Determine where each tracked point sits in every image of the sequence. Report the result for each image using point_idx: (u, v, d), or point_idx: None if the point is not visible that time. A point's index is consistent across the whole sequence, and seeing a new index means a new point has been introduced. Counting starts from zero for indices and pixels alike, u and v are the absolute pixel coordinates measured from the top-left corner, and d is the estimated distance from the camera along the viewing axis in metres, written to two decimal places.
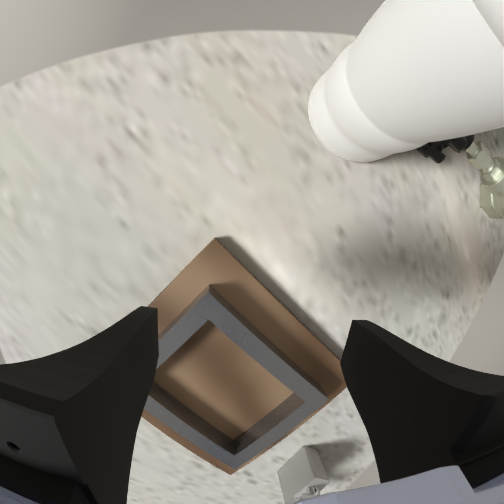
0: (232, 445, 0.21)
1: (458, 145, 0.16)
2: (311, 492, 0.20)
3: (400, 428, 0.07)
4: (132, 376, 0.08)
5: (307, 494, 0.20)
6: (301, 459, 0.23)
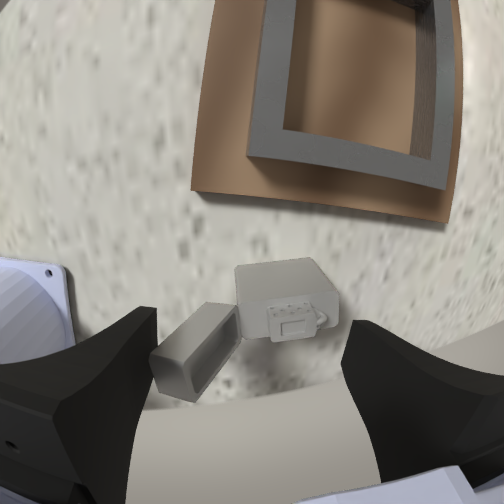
0: None
1: None
2: (313, 311, 0.12)
3: (401, 428, 0.07)
4: (131, 376, 0.08)
5: (305, 309, 0.12)
6: (303, 266, 0.15)
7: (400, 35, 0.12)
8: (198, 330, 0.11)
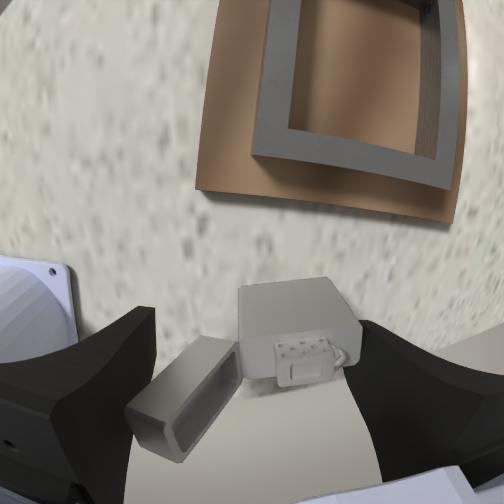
0: None
1: None
2: (331, 351, 0.09)
3: (402, 428, 0.07)
4: (129, 376, 0.08)
5: (321, 349, 0.09)
6: (319, 289, 0.13)
7: (405, 34, 0.12)
8: (187, 376, 0.08)
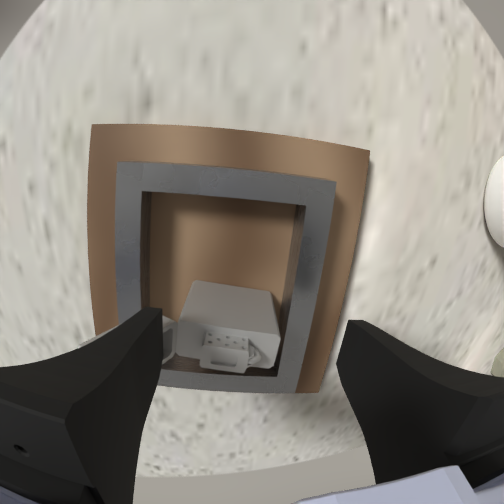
0: None
1: None
2: (248, 349, 0.12)
3: (395, 429, 0.07)
4: (138, 377, 0.08)
5: (240, 345, 0.12)
6: (258, 299, 0.15)
7: (271, 241, 0.16)
8: None
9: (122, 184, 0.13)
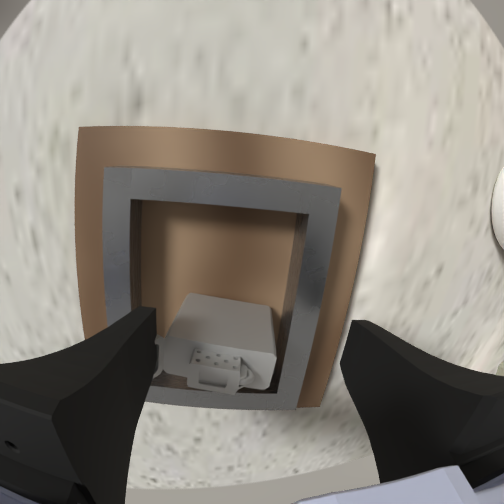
0: None
1: None
2: (240, 369, 0.11)
3: (400, 428, 0.07)
4: (130, 376, 0.08)
5: (231, 365, 0.11)
6: (256, 315, 0.14)
7: (270, 251, 0.15)
8: None
9: (109, 191, 0.12)
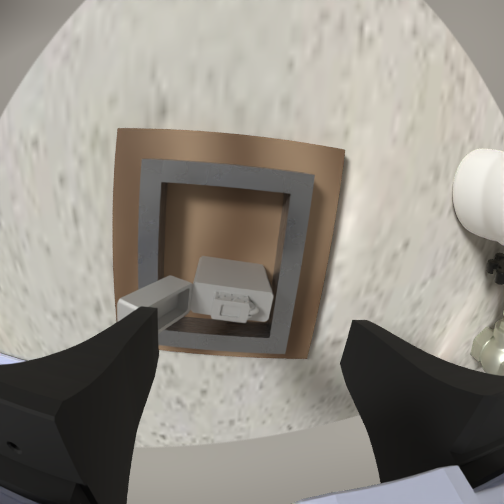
0: None
1: None
2: (249, 303, 0.16)
3: (400, 428, 0.07)
4: (132, 376, 0.08)
5: (242, 300, 0.16)
6: (254, 269, 0.19)
7: (263, 224, 0.20)
8: (158, 292, 0.14)
9: (145, 176, 0.16)
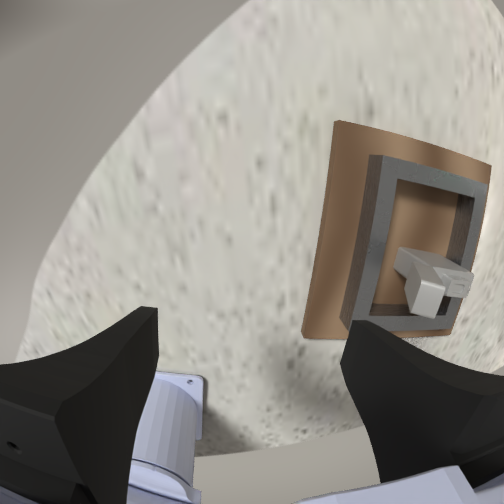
0: None
1: None
2: None
3: (400, 428, 0.07)
4: (132, 376, 0.08)
5: (464, 279, 0.17)
6: (442, 258, 0.20)
7: (444, 220, 0.21)
8: (430, 274, 0.15)
9: (385, 171, 0.17)
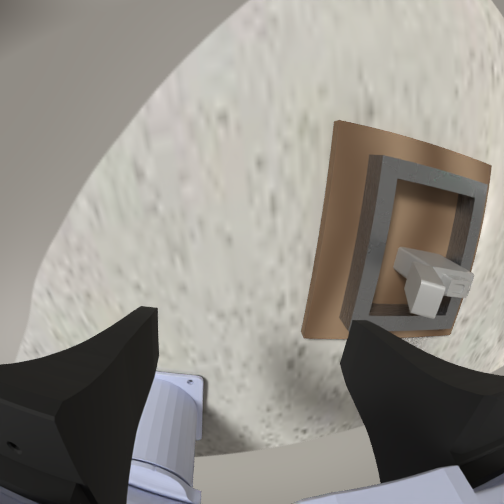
0: None
1: None
2: None
3: (400, 428, 0.07)
4: (132, 376, 0.08)
5: (464, 279, 0.17)
6: (442, 258, 0.20)
7: (444, 220, 0.21)
8: (430, 274, 0.15)
9: (385, 171, 0.17)
